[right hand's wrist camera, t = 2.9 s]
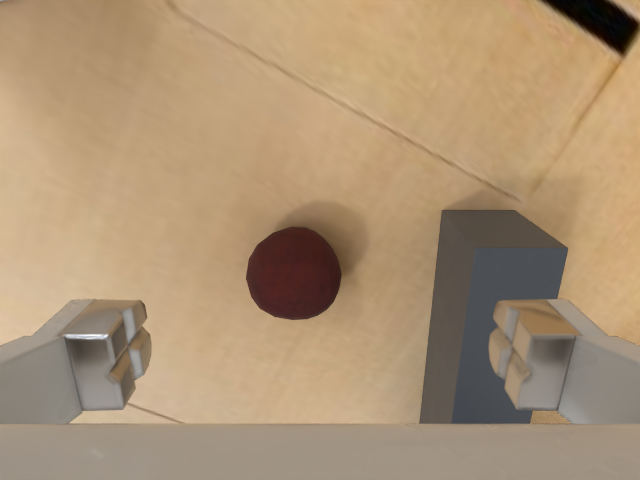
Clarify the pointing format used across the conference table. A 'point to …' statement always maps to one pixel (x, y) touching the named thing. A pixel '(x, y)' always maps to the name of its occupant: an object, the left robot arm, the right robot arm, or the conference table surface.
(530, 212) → the conference table surface
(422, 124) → the conference table surface
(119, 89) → the conference table surface
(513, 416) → the box
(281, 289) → the dark red ball
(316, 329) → the conference table surface
